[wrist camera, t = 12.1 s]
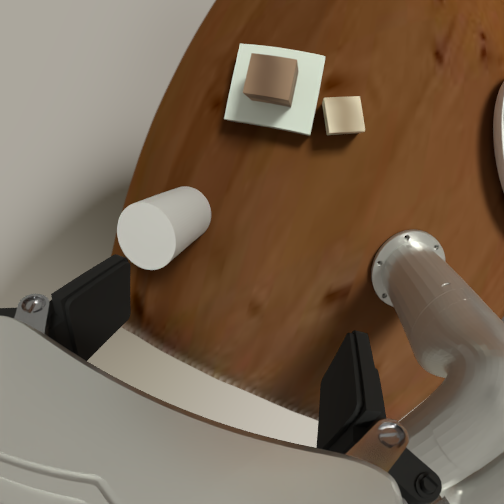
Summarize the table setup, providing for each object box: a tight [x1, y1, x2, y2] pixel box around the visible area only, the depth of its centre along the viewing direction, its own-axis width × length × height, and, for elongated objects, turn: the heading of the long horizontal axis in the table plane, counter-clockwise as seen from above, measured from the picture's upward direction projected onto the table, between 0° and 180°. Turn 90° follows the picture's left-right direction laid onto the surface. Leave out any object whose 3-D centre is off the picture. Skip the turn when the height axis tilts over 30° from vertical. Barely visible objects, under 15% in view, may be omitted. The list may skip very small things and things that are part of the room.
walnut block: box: [243, 53, 299, 107], centre depth 27 cm, size 5×5×5 cm
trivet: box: [224, 44, 326, 136], centre depth 31 cm, size 11×11×3 cm
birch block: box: [322, 96, 365, 135], centre depth 30 cm, size 4×4×4 cm
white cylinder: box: [117, 187, 211, 270], centre depth 36 cm, size 8×8×12 cm
